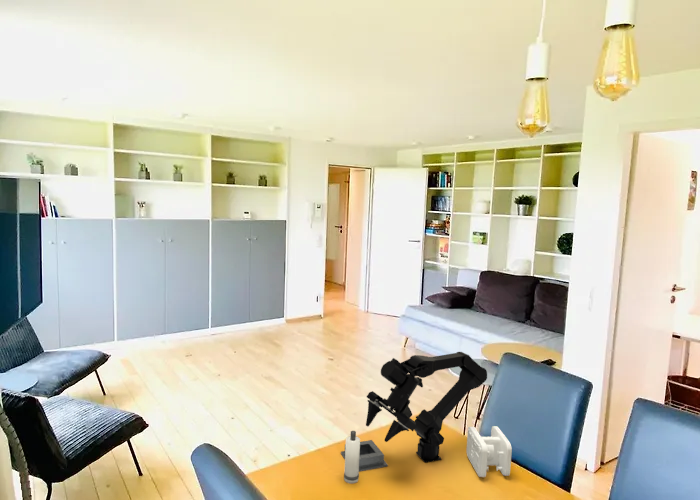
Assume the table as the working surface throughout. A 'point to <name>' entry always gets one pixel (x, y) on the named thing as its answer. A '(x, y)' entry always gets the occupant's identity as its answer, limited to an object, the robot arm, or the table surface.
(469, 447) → the cable organizer
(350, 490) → the table surface
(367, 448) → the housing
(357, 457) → the white bottle
